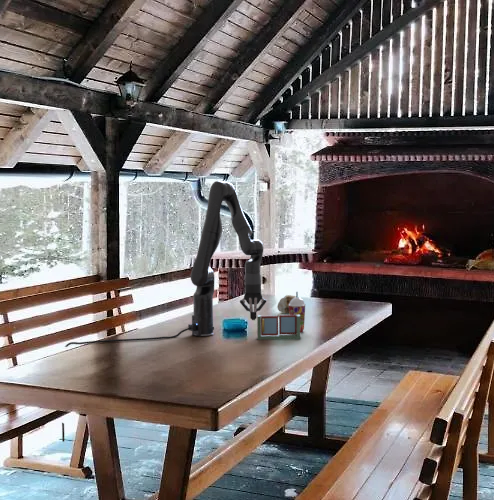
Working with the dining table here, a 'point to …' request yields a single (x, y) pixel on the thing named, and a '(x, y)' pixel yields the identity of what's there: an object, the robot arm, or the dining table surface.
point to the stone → (285, 303)
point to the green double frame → (283, 328)
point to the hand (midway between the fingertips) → (253, 319)
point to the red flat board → (269, 325)
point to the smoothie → (298, 309)
